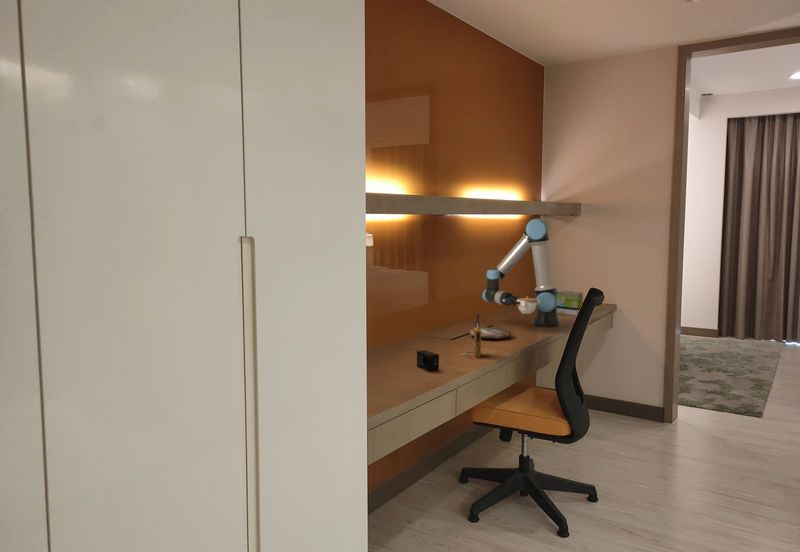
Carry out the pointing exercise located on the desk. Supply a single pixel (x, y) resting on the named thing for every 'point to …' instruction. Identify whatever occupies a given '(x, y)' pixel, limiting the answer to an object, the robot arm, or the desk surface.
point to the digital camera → (428, 360)
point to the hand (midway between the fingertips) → (532, 303)
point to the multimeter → (476, 341)
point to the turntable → (492, 332)
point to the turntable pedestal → (490, 338)
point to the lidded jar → (528, 305)
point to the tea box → (569, 302)
